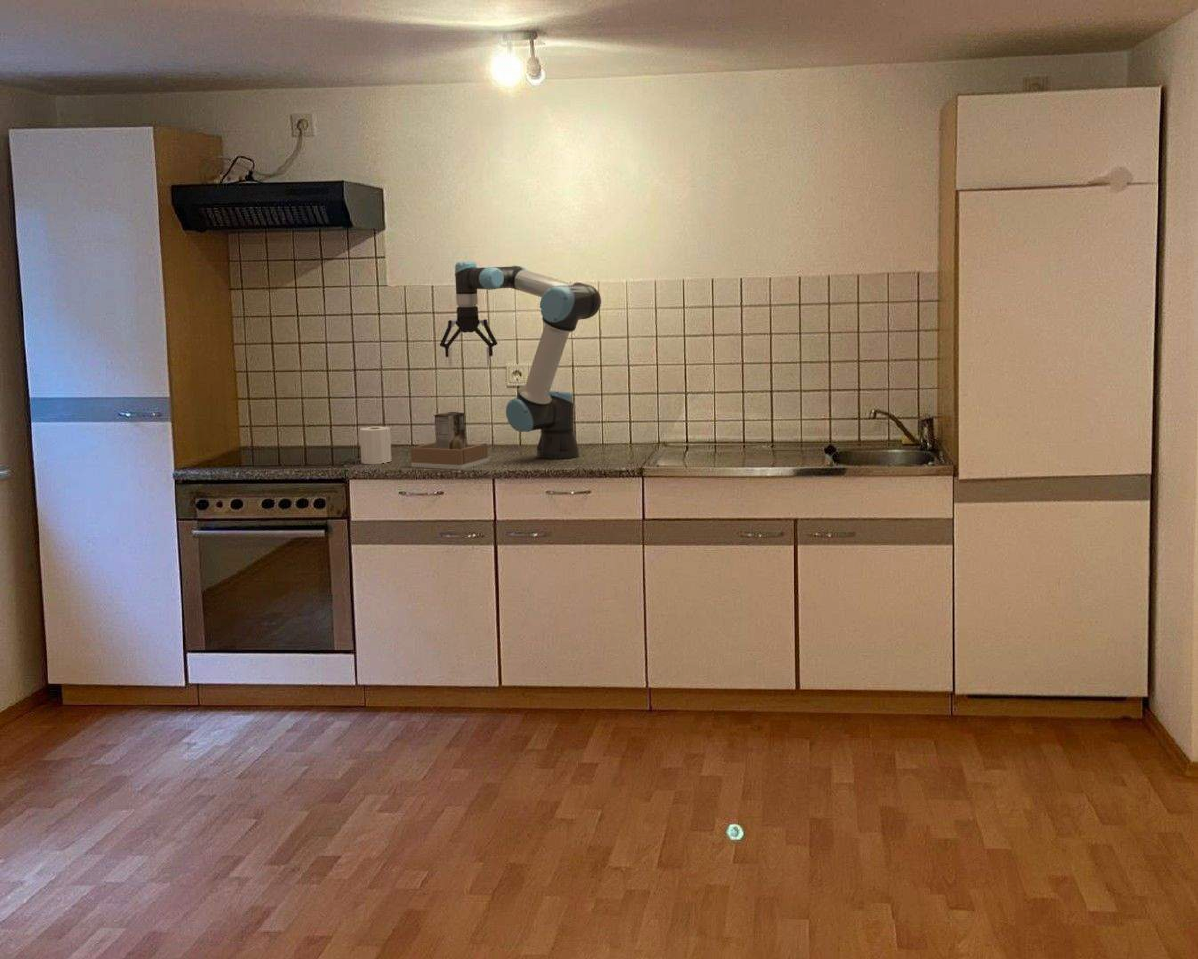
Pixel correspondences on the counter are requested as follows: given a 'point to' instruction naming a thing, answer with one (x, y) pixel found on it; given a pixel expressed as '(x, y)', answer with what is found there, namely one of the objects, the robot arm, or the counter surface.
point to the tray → (448, 456)
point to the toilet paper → (375, 445)
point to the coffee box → (450, 431)
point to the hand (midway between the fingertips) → (469, 366)
